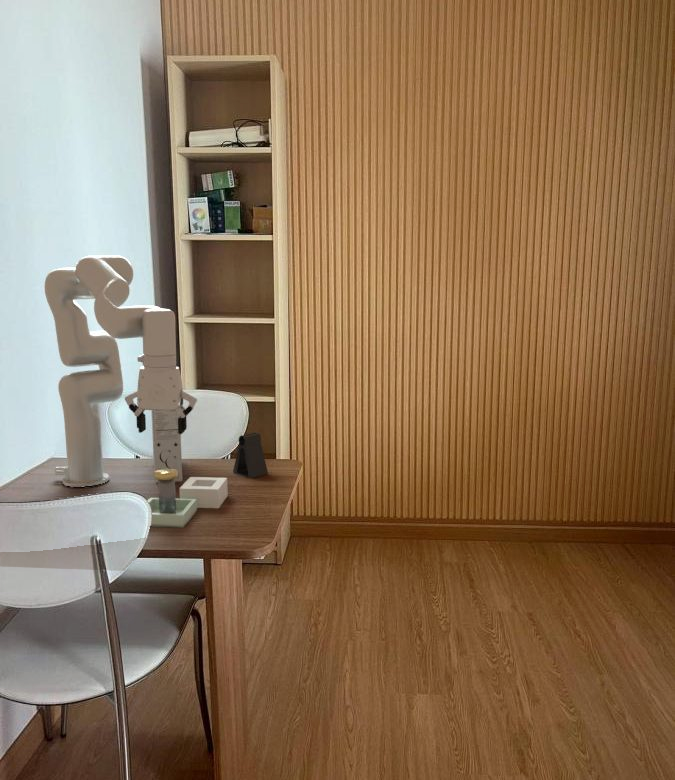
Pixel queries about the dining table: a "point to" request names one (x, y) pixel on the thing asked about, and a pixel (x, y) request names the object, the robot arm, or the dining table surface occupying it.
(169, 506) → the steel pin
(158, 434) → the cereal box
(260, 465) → the black a-frame stand
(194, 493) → the block
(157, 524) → the tray
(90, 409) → the robot arm
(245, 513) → the dining table surface
